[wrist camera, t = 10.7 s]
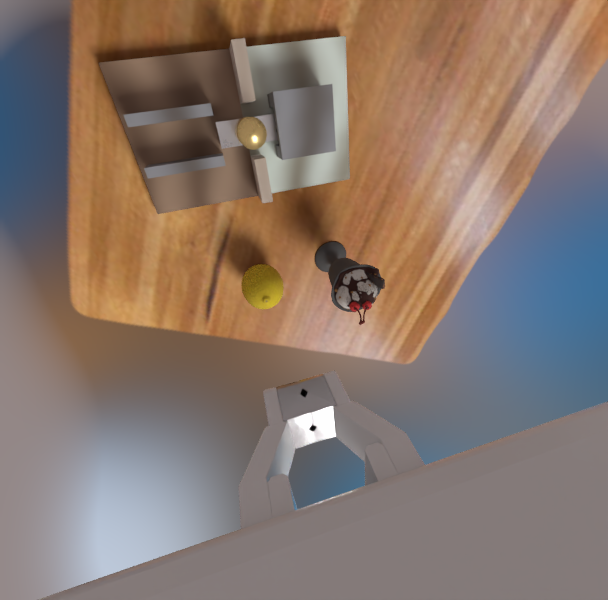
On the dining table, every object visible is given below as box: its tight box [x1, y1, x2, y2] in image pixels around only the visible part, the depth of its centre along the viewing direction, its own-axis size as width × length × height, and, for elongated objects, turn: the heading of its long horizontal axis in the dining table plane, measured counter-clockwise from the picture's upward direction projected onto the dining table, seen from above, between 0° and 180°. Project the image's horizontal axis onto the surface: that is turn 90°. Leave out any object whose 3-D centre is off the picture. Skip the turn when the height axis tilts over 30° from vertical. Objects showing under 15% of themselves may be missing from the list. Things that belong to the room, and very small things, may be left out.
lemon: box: [242, 264, 283, 309], centre depth 40 cm, size 6×6×8 cm
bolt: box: [216, 114, 278, 150], centre depth 30 cm, size 12×3×7 cm, turn 97°
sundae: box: [315, 242, 385, 325], centre depth 38 cm, size 7×7×15 cm
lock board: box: [99, 36, 350, 214], centre depth 31 cm, size 24×14×5 cm, turn 97°
